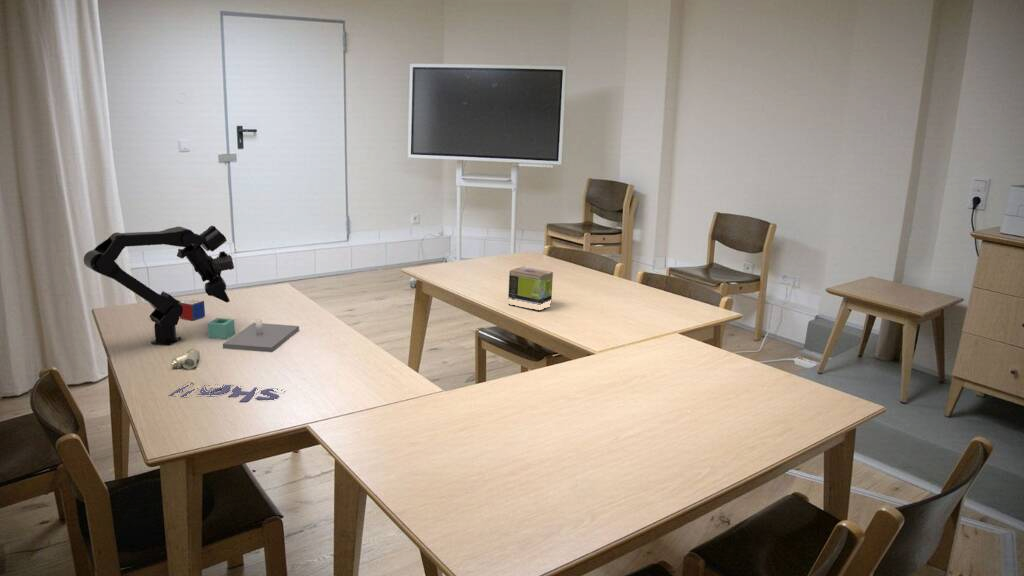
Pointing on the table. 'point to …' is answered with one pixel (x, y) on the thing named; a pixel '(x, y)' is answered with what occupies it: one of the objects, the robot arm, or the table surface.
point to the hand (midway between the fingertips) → (226, 295)
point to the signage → (235, 391)
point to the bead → (221, 328)
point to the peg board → (261, 337)
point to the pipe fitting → (186, 360)
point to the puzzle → (192, 309)
